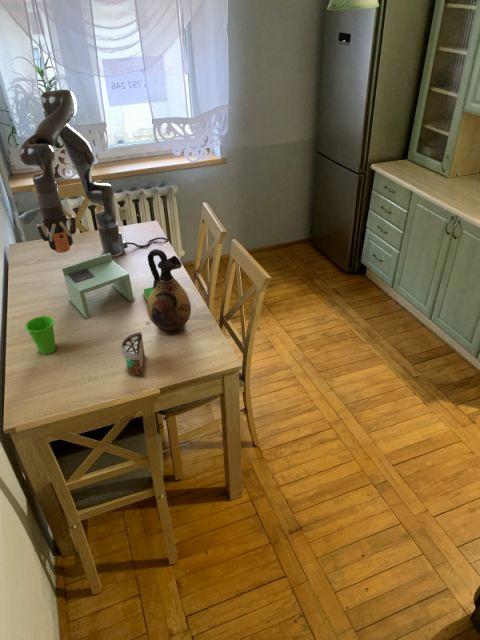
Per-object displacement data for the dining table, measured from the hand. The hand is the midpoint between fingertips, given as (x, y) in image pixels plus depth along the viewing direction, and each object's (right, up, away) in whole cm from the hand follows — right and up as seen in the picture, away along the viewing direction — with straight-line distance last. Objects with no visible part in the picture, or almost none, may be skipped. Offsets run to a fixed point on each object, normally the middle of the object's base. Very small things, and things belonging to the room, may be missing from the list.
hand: (62, 247), depth 172 cm
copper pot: (0, -1, +1) cm, 1 cm away
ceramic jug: (+40, -29, -1) cm, 50 cm away
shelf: (+10, -19, +15) cm, 26 cm away
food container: (+31, -43, -20) cm, 57 cm away
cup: (-1, -37, -11) cm, 39 cm away
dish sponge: (+33, -19, +14) cm, 40 cm away
